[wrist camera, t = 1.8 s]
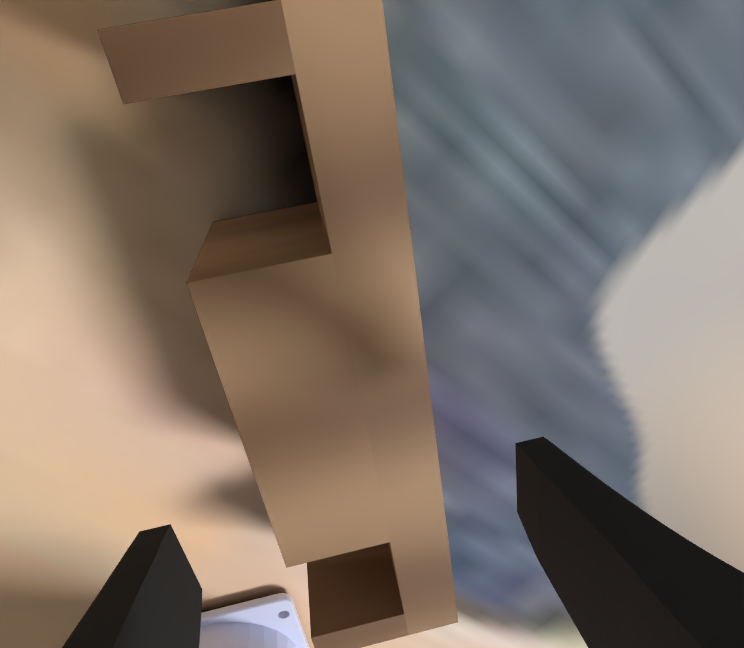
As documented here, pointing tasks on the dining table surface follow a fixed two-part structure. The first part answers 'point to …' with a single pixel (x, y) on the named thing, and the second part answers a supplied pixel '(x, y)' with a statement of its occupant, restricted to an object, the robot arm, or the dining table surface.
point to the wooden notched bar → (320, 313)
